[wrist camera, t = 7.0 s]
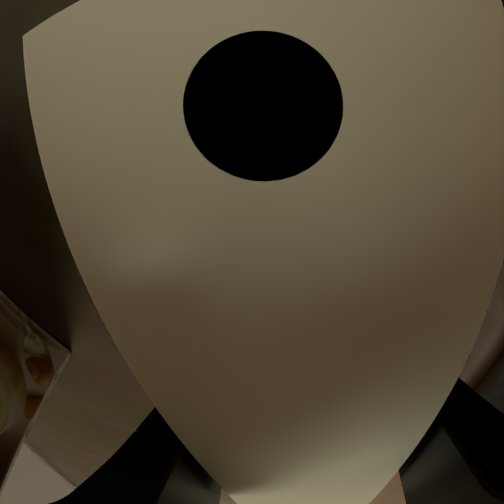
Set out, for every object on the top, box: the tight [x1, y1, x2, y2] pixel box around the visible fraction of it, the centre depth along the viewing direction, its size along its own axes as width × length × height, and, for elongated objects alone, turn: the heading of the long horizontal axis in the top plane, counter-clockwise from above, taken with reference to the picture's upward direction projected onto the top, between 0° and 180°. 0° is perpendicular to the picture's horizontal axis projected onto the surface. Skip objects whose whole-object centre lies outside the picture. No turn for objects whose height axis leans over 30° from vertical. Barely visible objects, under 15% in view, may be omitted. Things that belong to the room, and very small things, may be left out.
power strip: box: [23, 0, 504, 504], centre depth 7 cm, size 4×14×7 cm, turn 9°
